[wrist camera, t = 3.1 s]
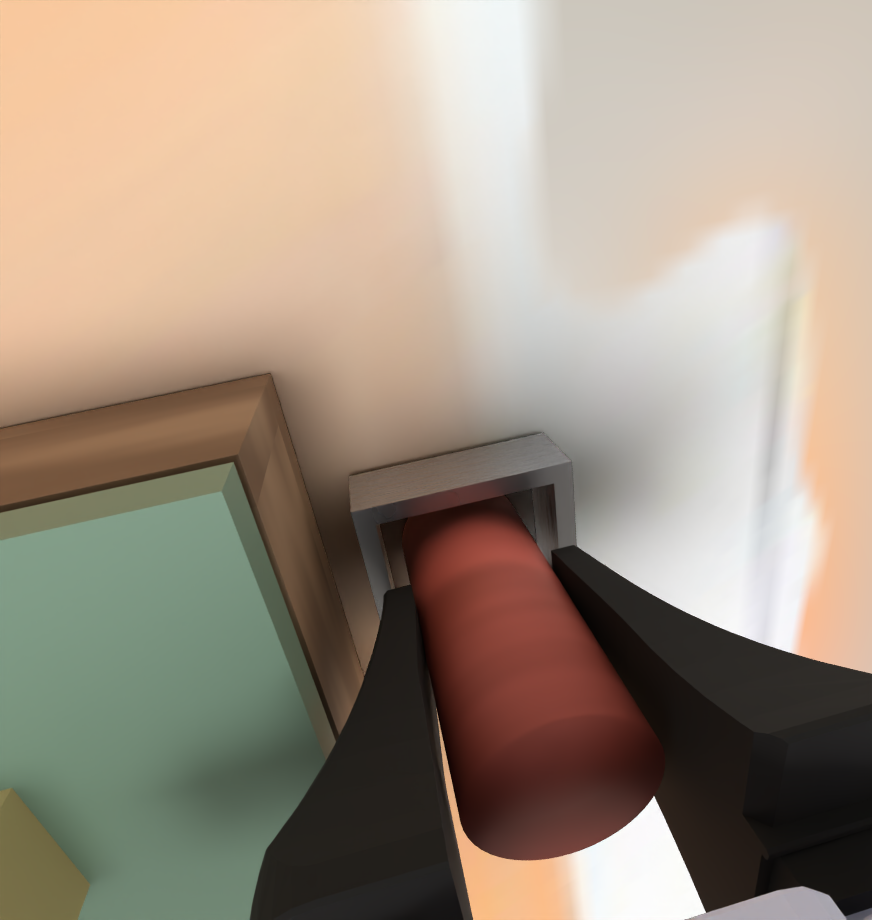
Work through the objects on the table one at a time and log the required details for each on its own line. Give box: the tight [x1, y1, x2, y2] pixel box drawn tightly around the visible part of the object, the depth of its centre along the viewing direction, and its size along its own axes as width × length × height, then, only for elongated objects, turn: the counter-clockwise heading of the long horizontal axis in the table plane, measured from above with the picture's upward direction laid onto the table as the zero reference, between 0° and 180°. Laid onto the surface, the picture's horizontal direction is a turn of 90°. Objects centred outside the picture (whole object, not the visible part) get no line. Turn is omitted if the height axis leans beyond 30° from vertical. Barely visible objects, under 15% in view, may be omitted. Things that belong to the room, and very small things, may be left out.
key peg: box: [402, 495, 665, 860], centre depth 13 cm, size 4×4×8 cm
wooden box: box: [0, 374, 364, 741], centre depth 13 cm, size 12×14×5 cm
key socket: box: [349, 433, 577, 621], centre depth 15 cm, size 6×6×2 cm
